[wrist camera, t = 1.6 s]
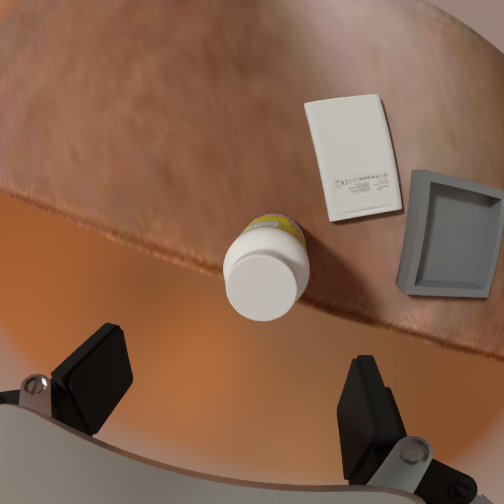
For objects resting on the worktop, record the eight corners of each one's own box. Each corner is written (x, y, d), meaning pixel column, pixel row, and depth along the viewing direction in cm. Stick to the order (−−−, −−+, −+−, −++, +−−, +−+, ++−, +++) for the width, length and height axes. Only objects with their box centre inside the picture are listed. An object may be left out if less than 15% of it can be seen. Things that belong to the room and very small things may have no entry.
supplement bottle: (309, 268, 31) (317, 329, 18) (249, 276, 32) (223, 338, 20) (299, 207, 29) (305, 232, 17) (237, 217, 30) (200, 248, 18)
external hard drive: (375, 97, 25) (398, 207, 28) (303, 106, 27) (328, 219, 29) (379, 93, 23) (403, 209, 26) (303, 102, 25) (330, 222, 28)
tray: (494, 190, 24) (507, 192, 22) (476, 288, 28) (487, 297, 25) (411, 170, 26) (423, 170, 23) (395, 283, 30) (404, 294, 27)
